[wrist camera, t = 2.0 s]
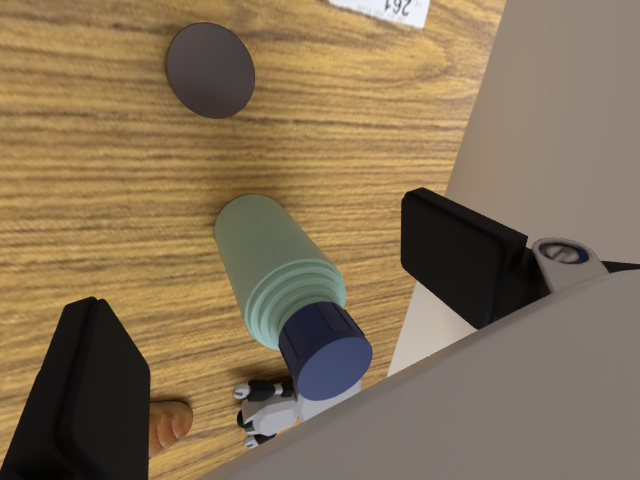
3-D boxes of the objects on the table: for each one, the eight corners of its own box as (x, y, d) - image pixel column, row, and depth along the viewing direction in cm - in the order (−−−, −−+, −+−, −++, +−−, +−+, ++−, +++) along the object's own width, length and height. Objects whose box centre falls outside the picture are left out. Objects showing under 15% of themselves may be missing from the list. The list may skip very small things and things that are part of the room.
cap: (262, 347, 16) (279, 392, 14) (314, 288, 16) (340, 325, 14) (312, 366, 18) (334, 407, 16) (358, 316, 18) (386, 351, 16)
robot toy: (240, 429, 40) (347, 391, 45) (245, 466, 37) (361, 421, 41) (225, 363, 34) (351, 328, 39) (230, 400, 31) (368, 356, 35)
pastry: (187, 383, 32) (191, 416, 29) (195, 423, 35) (200, 457, 32) (76, 417, 29) (67, 459, 26) (96, 459, 32) (90, 500, 29)
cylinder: (147, 71, 20) (146, 72, 17) (197, 6, 19) (204, -1, 17) (213, 128, 23) (220, 135, 20) (258, 73, 22) (271, 74, 20)
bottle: (197, 238, 26) (237, 397, 14) (247, 178, 25) (336, 286, 13) (255, 272, 30) (328, 419, 17) (300, 220, 29) (407, 334, 17)
